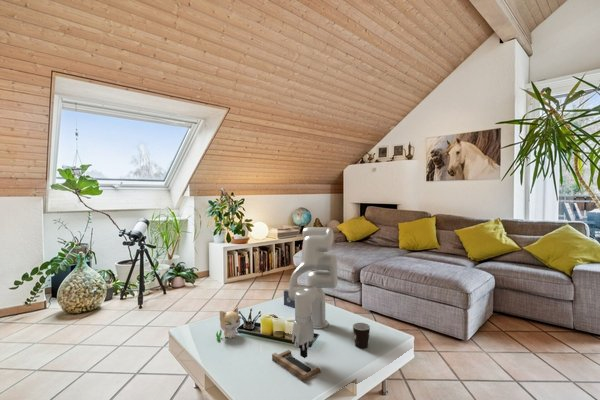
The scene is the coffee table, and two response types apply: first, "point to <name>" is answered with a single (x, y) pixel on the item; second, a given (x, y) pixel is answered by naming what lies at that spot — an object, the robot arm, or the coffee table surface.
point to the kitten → (229, 323)
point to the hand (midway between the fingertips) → (303, 356)
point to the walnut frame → (293, 366)
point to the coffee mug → (361, 335)
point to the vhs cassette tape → (288, 300)
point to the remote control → (298, 364)
